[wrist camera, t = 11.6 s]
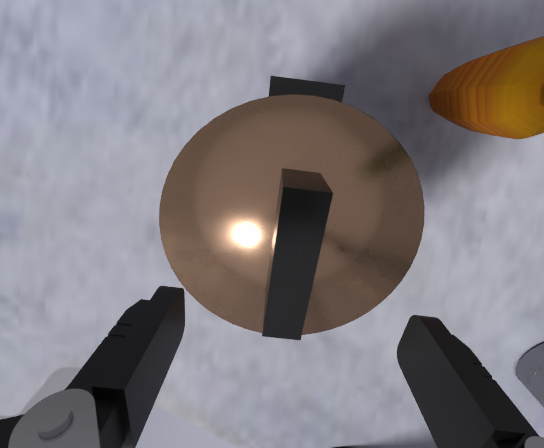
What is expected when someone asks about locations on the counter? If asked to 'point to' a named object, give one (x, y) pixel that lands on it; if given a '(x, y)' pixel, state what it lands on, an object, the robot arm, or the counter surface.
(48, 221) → the counter surface
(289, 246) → the lid
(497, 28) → the counter surface
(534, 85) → the carrot
